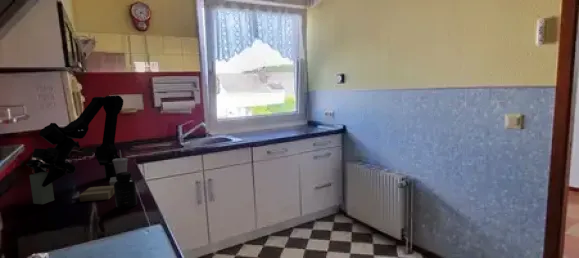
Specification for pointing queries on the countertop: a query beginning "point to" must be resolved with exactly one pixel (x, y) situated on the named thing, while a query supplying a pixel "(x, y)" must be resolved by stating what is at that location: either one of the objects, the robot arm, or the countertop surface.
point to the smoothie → (120, 164)
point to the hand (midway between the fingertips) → (38, 186)
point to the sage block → (41, 189)
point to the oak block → (97, 193)
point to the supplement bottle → (125, 191)
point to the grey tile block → (112, 181)
